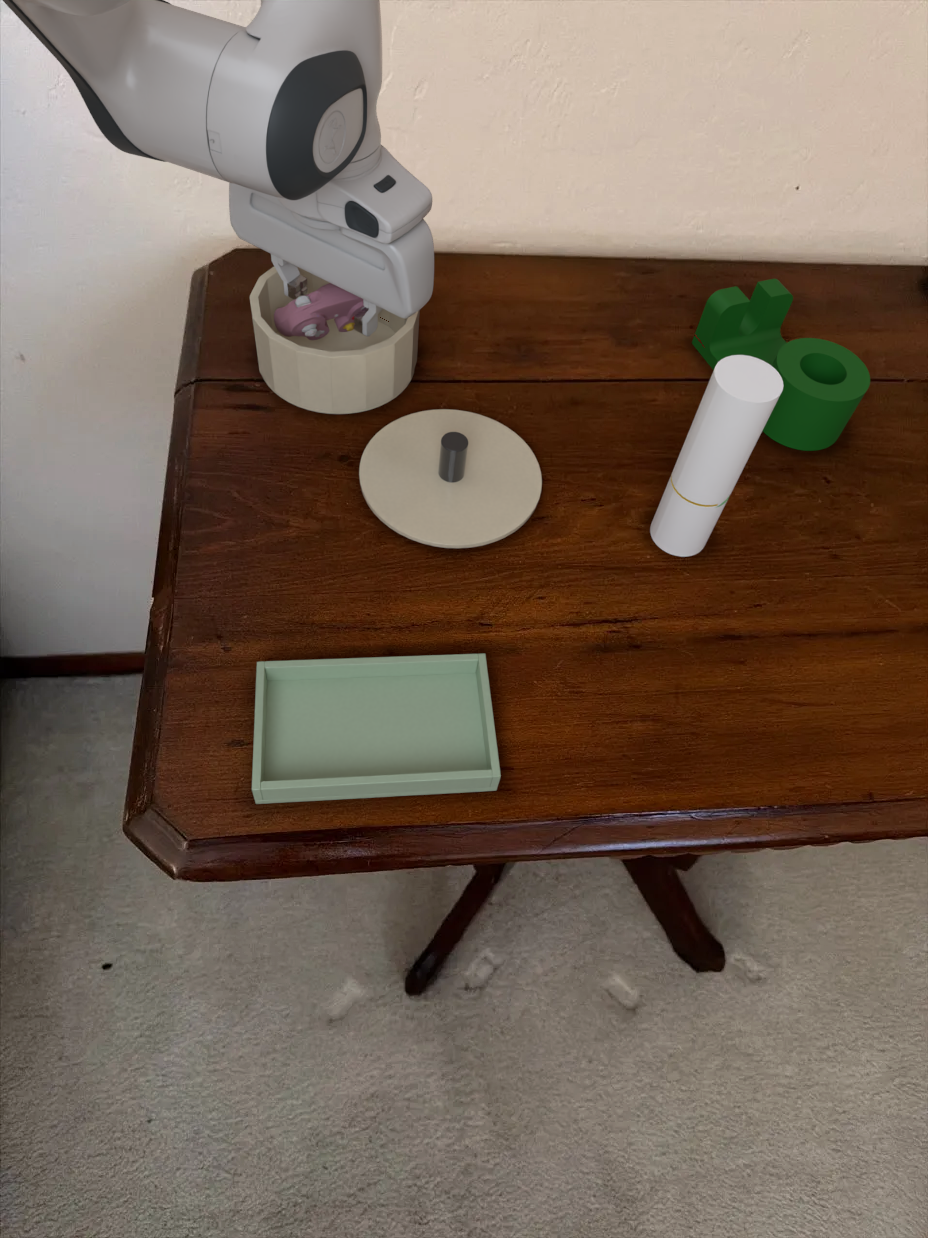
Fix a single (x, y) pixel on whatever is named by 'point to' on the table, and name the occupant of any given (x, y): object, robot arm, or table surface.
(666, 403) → the table surface
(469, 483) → the lid
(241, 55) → the robot arm
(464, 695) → the tray
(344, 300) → the video game controller
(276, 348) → the cream bowl
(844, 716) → the table surface
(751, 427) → the tube
